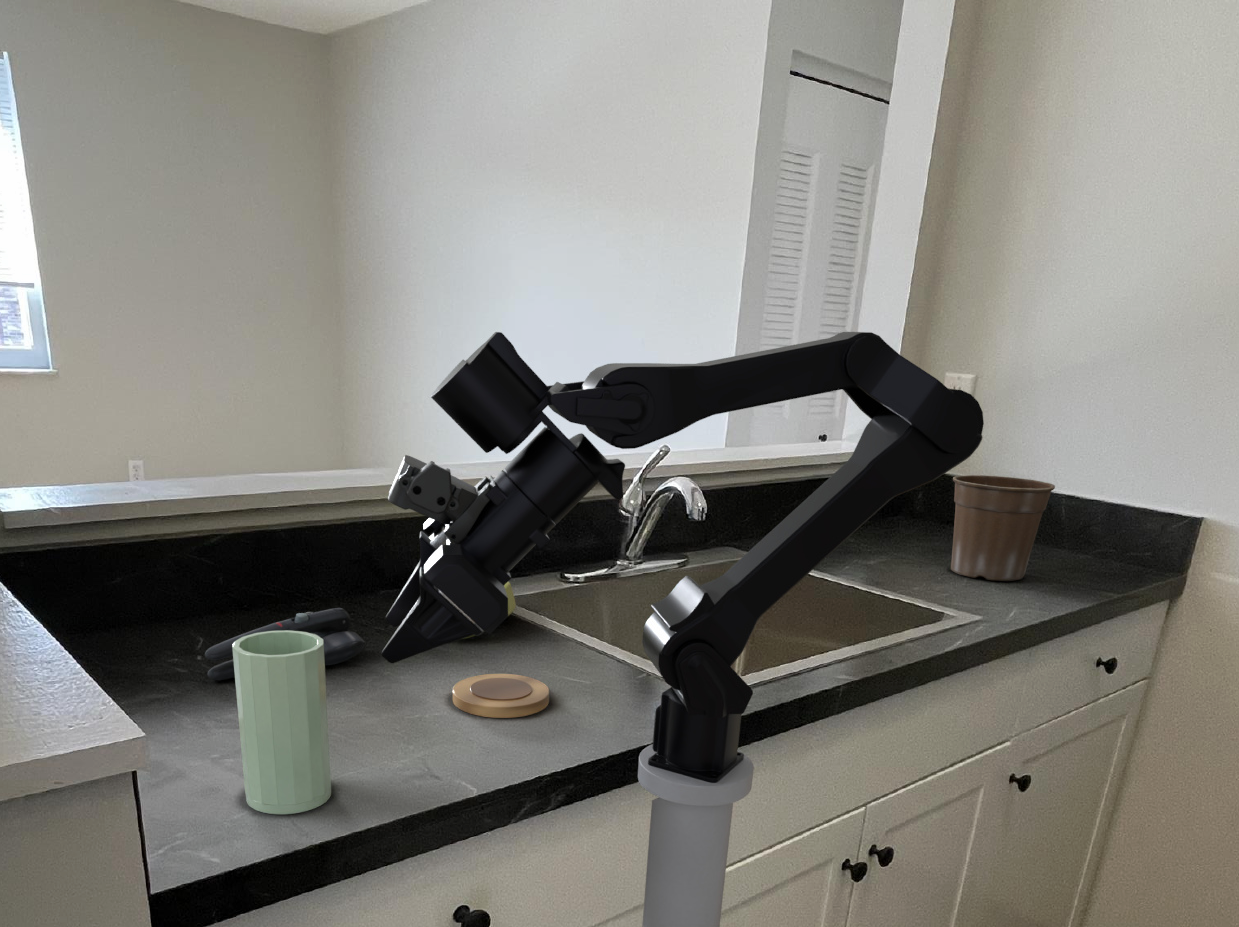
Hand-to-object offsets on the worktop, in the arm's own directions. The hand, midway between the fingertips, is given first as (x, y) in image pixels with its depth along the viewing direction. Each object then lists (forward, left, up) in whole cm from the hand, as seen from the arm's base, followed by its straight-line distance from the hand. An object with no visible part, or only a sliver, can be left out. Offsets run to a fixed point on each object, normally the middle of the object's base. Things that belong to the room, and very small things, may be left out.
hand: (387, 640), depth 76 cm
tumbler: (+6, +5, -13) cm, 16 cm away
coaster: (+5, -23, -13) cm, 27 cm away
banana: (+25, -42, -13) cm, 51 cm away
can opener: (+30, -17, -13) cm, 37 cm away
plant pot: (-26, -125, -13) cm, 128 cm away
